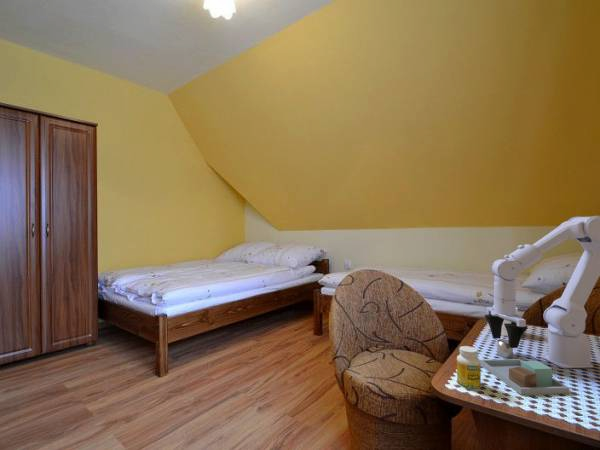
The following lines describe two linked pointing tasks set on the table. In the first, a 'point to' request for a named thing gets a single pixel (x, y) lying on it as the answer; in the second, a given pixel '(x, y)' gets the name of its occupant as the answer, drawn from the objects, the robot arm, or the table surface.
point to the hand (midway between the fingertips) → (504, 342)
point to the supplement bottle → (468, 368)
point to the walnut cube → (522, 377)
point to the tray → (502, 372)
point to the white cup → (504, 331)
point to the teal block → (539, 372)
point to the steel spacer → (504, 349)
